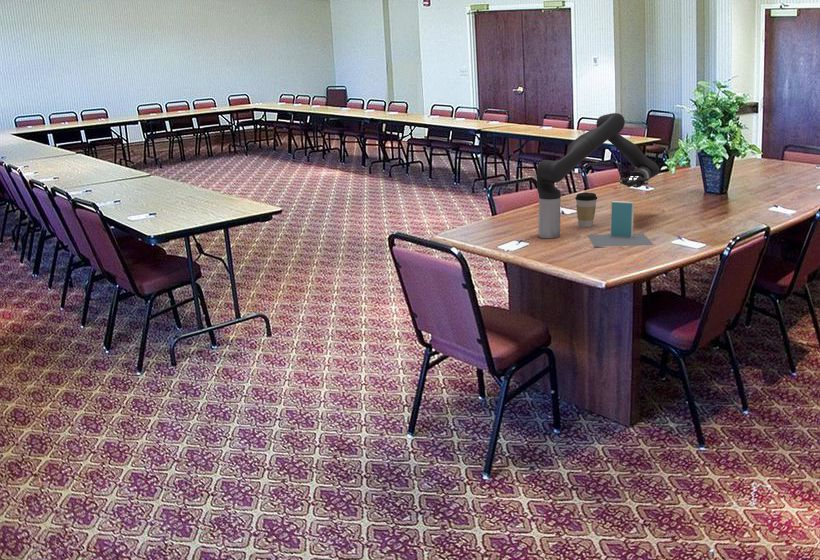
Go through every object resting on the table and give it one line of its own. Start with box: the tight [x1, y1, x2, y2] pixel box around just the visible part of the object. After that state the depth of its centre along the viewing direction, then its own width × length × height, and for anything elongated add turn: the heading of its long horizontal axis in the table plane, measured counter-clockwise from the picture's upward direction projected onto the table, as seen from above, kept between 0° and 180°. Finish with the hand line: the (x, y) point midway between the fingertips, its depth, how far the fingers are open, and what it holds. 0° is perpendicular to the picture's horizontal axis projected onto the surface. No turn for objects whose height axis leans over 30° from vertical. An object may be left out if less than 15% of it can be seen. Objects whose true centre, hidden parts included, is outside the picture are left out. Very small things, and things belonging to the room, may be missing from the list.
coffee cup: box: [574, 192, 598, 229], centre depth 353 cm, size 10×10×15 cm
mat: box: [587, 232, 655, 249], centre depth 327 cm, size 24×20×1 cm
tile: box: [610, 200, 635, 238], centre depth 331 cm, size 2×9×15 cm, turn 61°
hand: (629, 184), depth 335 cm, fingers closed
